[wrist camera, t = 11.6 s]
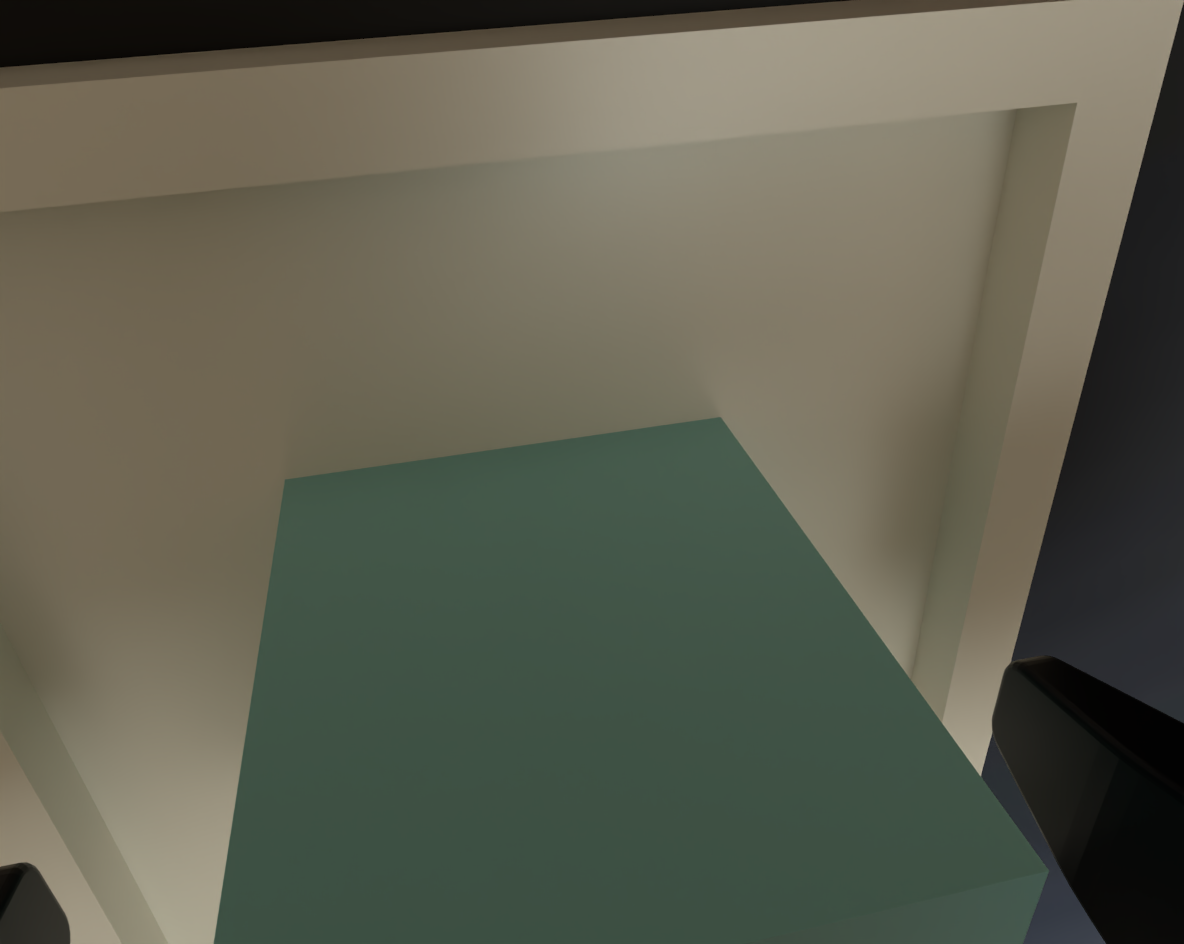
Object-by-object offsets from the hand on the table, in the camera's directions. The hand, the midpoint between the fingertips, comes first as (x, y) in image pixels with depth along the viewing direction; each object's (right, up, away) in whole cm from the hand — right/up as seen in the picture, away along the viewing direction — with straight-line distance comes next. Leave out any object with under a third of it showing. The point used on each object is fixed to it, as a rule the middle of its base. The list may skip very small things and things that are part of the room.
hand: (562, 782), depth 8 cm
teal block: (0, +1, +2) cm, 2 cm away
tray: (-1, +2, +3) cm, 3 cm away
